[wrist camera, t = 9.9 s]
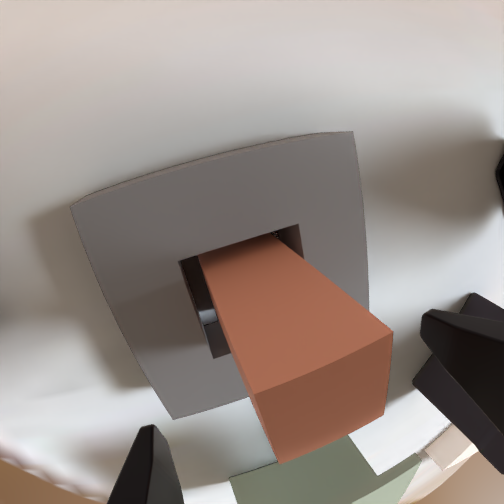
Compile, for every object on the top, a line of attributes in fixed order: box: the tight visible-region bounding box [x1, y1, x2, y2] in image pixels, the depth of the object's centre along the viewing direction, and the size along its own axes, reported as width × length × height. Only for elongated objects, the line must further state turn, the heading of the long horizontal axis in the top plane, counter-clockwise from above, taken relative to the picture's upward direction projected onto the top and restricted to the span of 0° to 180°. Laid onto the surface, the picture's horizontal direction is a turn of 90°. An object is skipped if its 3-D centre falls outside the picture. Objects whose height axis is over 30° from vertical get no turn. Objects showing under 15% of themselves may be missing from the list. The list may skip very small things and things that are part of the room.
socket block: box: [70, 131, 369, 420], centre depth 15 cm, size 12×12×3 cm
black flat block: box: [413, 293, 504, 474], centre depth 19 cm, size 11×4×15 cm, turn 146°
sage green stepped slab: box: [229, 435, 422, 504], centre depth 18 cm, size 12×10×10 cm
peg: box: [197, 232, 393, 465], centre depth 12 cm, size 4×4×10 cm
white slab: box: [425, 424, 479, 471], centre depth 40 cm, size 30×26×6 cm
